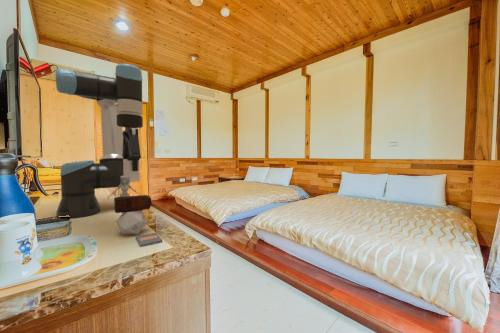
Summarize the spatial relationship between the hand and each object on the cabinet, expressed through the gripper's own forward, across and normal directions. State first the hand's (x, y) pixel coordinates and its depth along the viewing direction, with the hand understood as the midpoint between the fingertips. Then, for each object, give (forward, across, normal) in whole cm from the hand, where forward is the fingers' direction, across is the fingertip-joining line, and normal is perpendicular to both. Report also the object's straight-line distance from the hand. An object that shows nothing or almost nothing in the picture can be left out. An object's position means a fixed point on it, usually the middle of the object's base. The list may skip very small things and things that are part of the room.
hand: (131, 179), depth 73 cm
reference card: (+18, +11, +3) cm, 21 cm away
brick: (+11, 0, 0) cm, 11 cm away
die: (+18, +1, 0) cm, 18 cm away
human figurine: (+18, -16, 0) cm, 25 cm away
